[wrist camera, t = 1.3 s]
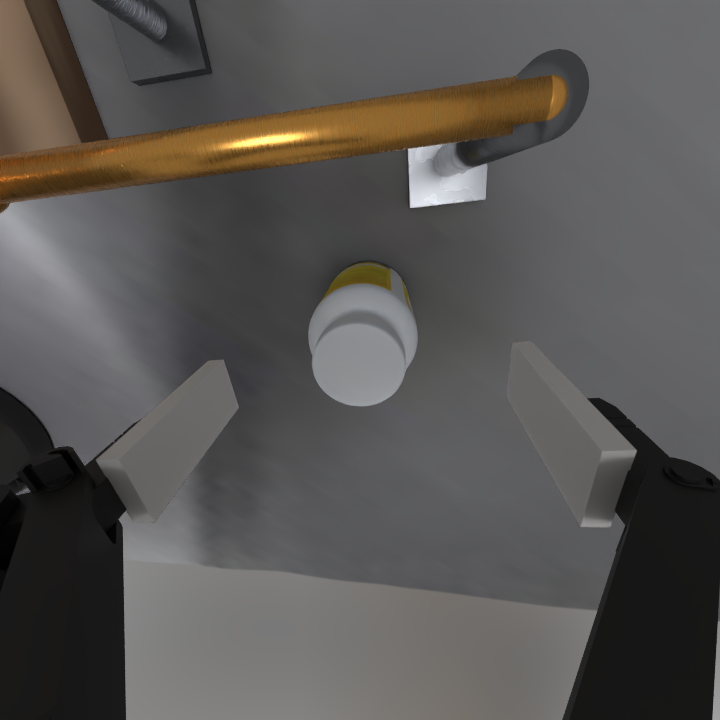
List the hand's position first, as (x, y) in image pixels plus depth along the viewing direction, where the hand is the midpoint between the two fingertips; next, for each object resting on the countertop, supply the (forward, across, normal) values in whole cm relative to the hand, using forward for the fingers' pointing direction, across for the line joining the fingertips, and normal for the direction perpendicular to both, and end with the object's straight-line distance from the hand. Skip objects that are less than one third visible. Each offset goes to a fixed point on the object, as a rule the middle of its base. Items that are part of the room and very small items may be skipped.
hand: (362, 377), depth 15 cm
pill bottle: (+13, 0, 0) cm, 13 cm away
